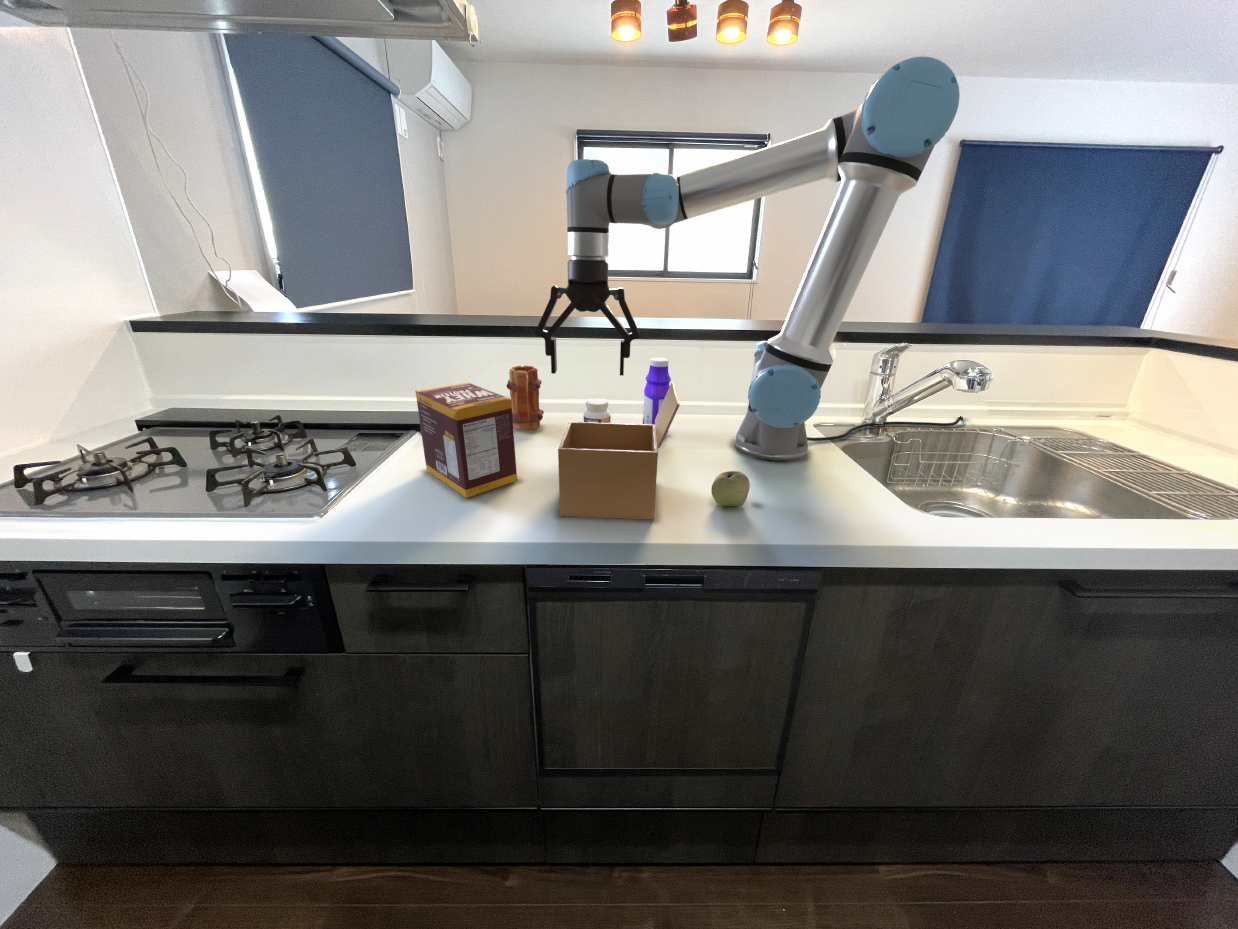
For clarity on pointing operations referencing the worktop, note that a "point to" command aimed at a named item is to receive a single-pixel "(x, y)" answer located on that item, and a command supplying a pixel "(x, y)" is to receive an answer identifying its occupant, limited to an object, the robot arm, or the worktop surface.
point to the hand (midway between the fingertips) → (587, 373)
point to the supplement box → (467, 437)
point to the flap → (666, 414)
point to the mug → (525, 397)
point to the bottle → (655, 389)
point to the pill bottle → (597, 411)
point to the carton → (608, 470)
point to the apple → (730, 488)
